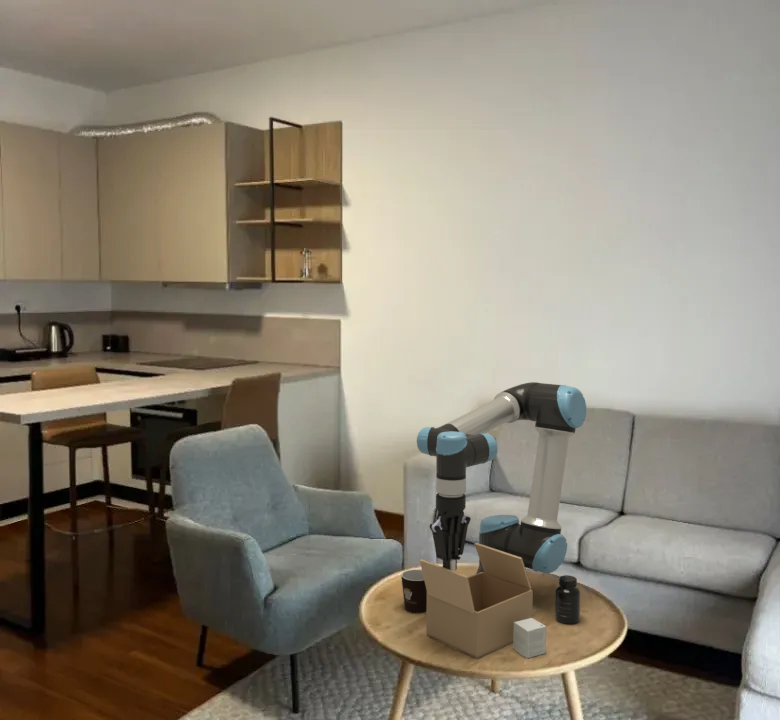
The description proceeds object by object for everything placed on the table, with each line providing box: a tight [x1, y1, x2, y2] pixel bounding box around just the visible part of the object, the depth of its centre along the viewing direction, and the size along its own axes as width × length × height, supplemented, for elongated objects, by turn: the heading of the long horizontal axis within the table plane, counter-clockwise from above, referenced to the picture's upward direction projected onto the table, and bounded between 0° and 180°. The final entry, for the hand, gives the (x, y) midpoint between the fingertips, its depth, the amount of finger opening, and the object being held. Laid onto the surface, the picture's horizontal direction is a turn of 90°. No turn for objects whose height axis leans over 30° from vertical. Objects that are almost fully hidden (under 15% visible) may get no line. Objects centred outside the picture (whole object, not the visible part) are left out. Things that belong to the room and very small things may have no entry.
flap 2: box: [474, 542, 532, 590], centre depth 219 cm, size 10×16×1 cm
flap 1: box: [419, 559, 475, 613], centre depth 204 cm, size 10×16×1 cm
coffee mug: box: [400, 569, 427, 614], centre depth 229 cm, size 12×9×10 cm
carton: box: [425, 572, 534, 660], centre depth 214 cm, size 22×18×12 cm
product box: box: [512, 617, 547, 659], centre depth 205 cm, size 6×6×7 cm
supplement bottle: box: [554, 574, 581, 625], centre depth 223 cm, size 7×7×12 cm
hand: (449, 583), depth 205 cm, fingers closed
